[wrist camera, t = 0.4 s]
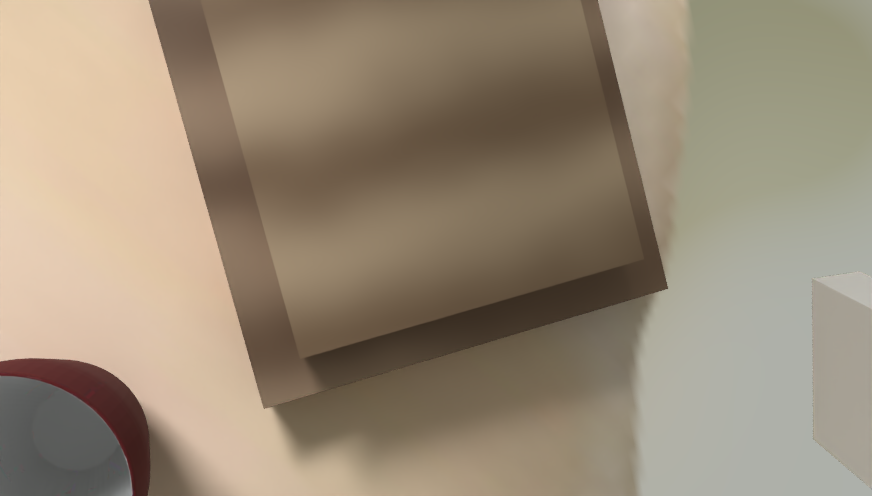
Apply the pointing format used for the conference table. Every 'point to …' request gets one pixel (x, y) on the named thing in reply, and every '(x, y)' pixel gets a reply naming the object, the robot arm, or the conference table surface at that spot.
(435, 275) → the stand
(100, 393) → the mug
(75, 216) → the conference table surface
